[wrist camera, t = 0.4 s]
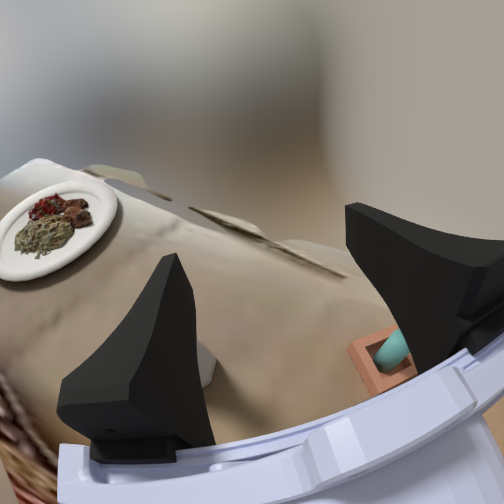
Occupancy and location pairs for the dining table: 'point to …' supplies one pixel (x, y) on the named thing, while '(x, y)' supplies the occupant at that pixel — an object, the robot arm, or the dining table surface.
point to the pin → (391, 352)
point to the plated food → (54, 228)
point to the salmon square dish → (372, 378)
